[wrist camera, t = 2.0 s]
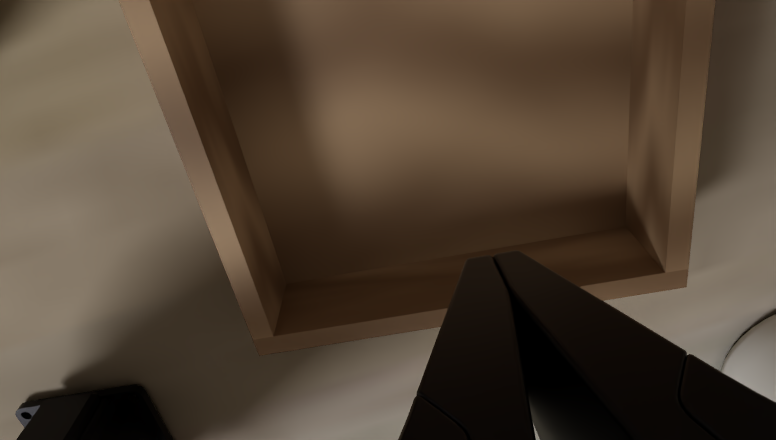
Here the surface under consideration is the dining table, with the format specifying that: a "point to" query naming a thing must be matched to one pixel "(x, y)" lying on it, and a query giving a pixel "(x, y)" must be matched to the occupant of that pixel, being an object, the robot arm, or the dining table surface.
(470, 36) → the wooden tray
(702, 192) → the dining table surface
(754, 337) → the milk bottle
